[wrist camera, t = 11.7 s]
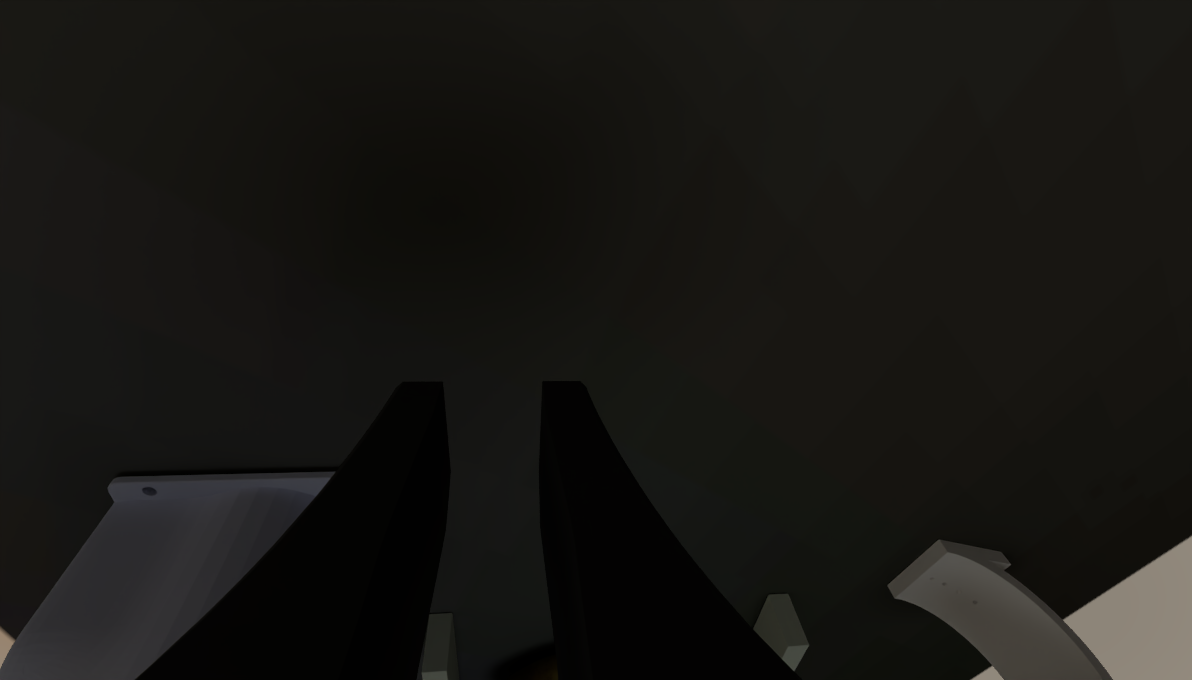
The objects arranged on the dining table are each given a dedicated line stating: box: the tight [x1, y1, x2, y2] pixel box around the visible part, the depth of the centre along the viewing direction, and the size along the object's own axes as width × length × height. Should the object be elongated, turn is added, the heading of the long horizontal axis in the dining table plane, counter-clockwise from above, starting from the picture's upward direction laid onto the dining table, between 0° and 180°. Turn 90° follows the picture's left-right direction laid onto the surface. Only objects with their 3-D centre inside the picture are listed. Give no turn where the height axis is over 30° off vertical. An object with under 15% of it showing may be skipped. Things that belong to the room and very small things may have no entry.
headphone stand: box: [887, 539, 1113, 680], centre depth 29 cm, size 5×6×12 cm
